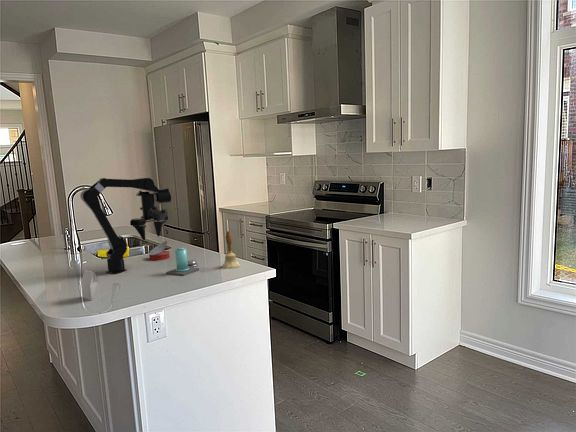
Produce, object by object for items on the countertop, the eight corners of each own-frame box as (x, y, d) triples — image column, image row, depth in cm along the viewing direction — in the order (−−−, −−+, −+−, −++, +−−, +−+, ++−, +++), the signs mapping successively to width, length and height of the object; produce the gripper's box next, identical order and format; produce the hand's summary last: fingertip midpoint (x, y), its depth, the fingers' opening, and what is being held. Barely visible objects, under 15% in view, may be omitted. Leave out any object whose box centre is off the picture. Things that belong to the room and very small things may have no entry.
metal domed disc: (191, 268, 200) (191, 263, 200) (180, 267, 203) (180, 262, 203) (200, 264, 206) (200, 260, 205) (190, 263, 209) (189, 259, 208)
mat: (183, 275, 187) (183, 273, 187) (166, 273, 192) (165, 272, 192) (199, 269, 196) (199, 268, 196) (181, 268, 200) (181, 266, 200)
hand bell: (237, 268, 195) (234, 232, 193) (219, 268, 196) (216, 233, 194) (242, 263, 203) (240, 229, 201) (225, 263, 204) (222, 229, 202)
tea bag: (91, 300, 159) (88, 273, 158) (82, 297, 163) (79, 271, 162) (101, 297, 162) (98, 271, 161) (92, 295, 166) (89, 268, 165)
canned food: (167, 268, 222) (165, 253, 216) (147, 267, 222) (144, 251, 216) (173, 253, 231) (171, 238, 225) (154, 252, 231) (151, 237, 225)
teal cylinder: (180, 272, 190) (178, 250, 188) (173, 270, 194) (171, 248, 192) (191, 269, 193) (189, 247, 192) (184, 267, 197) (182, 246, 196)
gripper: (145, 207, 194) (149, 242, 196) (175, 202, 210) (178, 235, 212) (127, 207, 199) (131, 241, 201) (157, 202, 216) (160, 234, 218)
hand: (151, 237), depth 208 cm, fingers open, 9 cm apart
